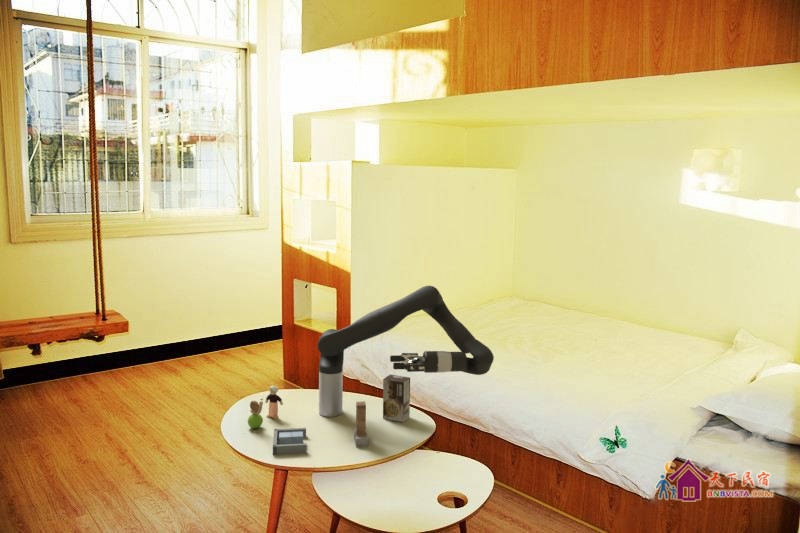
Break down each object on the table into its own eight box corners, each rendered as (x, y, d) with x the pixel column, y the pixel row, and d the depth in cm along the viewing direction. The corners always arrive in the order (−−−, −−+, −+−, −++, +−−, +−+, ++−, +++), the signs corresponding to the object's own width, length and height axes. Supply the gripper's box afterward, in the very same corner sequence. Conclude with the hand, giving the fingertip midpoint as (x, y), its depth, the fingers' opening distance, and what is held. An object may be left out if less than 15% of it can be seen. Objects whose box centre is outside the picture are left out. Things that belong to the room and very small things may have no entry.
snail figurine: (257, 432, 223) (256, 401, 222) (244, 428, 227) (244, 397, 225) (267, 427, 228) (267, 396, 226) (255, 423, 231) (255, 393, 230)
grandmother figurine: (262, 418, 237) (262, 386, 235) (266, 414, 241) (265, 383, 239) (281, 419, 236) (281, 388, 234) (285, 416, 239) (284, 384, 238)
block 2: (291, 442, 216) (291, 432, 215) (302, 442, 216) (302, 431, 216) (291, 447, 212) (291, 436, 211) (303, 447, 213) (303, 436, 212)
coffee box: (410, 417, 241) (411, 377, 239) (403, 422, 235) (404, 382, 233) (389, 412, 245) (390, 373, 243) (382, 418, 239) (382, 378, 237)
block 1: (279, 443, 215) (279, 432, 214) (291, 442, 216) (290, 432, 215) (279, 448, 211) (279, 437, 211) (290, 447, 212) (290, 436, 211)
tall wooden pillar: (353, 436, 222) (354, 399, 220) (364, 436, 223) (365, 398, 221) (356, 447, 213) (356, 408, 211) (367, 446, 214) (368, 408, 212)
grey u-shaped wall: (274, 437, 220) (274, 429, 219) (306, 435, 222) (305, 427, 221) (272, 455, 206) (272, 446, 205) (306, 453, 208) (306, 444, 207)
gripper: (433, 345, 224) (389, 346, 222) (441, 357, 210) (394, 357, 208) (432, 365, 225) (388, 366, 223) (440, 378, 211) (394, 379, 209)
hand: (391, 362), depth 215 cm, fingers open, 8 cm apart
